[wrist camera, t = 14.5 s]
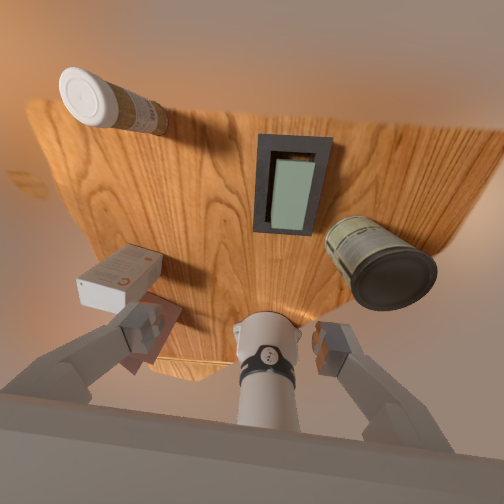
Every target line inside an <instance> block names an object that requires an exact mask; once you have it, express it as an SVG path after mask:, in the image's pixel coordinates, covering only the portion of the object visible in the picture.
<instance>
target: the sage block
mask: <svg viewBox="0 0 504 504" xmlns="http://www.w3.org/2000/svg"><path fill="white" fill-rule="evenodd" d="M314 167H315V163H314V162H309V161H305V160H293V159H276V163H275V173H274V182H273V192H272V202H271V225H272V228H279V229H293V230H302V228H303V223H304V218H305V213H306V208H307V203H308V197H309V192H310V187H311V182H312V177H313V172H314Z"/></svg>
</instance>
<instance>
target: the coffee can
mask: <svg viewBox="0 0 504 504" xmlns="http://www.w3.org/2000/svg"><path fill="white" fill-rule="evenodd" d="M325 248H326V251H327V253H328V255H329V256H330V257H331V259H332V260H333V262H334V264H335V265H336V267H337V268H338V270H339V272H340V273H341V275H342V276H343V278H344V280H345V281H346V283H347V285H348V286H349V288H350V289H351V291H352V294H353V296H354V298H355V300H356V301H357V302H358V303H359V304H360V305H362V306H363V307H365V308H367V309H370V310H375V311H391V310H397V309H401V308H404V307H407V306H409V305H411V304H412V303H415V302H417V301H418V300H419V299H421V298H422V297H423V296H425V295H426V294H427V293H428V292H429V291H430V289H431V288H432V286H433V285H434V283H435V281H436V278H437V266H436V263H435V261H434V260H433V258H432V257H430V256H429V255H428V254H426V253H425V252H423V251H421V250H418V249H416V248H415V247H413V246H412V245H410V244H408V243H407V242H405V241H404V240H402V239H400V238H399V237H397V236H396V235H394V234H392V233H391V232H389V231H388V230H386V229H385V228H383V227H381V226H380V225H378V224H377V223H375V222H374V221H373V220H371V219H370V218H367V217H364V216H350V217H347V218H344V219H342V220H340V221H339V222H337V223H336V224H335V225H334V226H333V227H332V228H331V229H330V230H329V232H328V234H327V236H326V239H325Z"/></svg>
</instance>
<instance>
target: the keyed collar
mask: <svg viewBox="0 0 504 504" xmlns="http://www.w3.org/2000/svg"><path fill="white" fill-rule="evenodd" d="M332 142H333V138H332V137H313V136H293V135H274V134H258V147H257V165H256V183H255V202H254V220H253V232H259V233H273V234H287V235H301V236H312V232H313V227H314V223H315V218H316V214H317V209H318V205H319V200H320V196H321V191H322V187H323V182H324V178H325V173H326V169H327V164H328V160H329V155H330V151H331V146H332ZM271 151H284V152H302V153H310V156H309V162H314V163H315V167H314V172H313V177H312V182H311V187H310V192H309V197H308V203H307V208H306V213H305V218H304V223H303V228H302V230H293V229H279V228H272V225H271V216H267V215H265V214H266V203H267V191H268V179H269V168H270V156H271Z"/></svg>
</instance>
